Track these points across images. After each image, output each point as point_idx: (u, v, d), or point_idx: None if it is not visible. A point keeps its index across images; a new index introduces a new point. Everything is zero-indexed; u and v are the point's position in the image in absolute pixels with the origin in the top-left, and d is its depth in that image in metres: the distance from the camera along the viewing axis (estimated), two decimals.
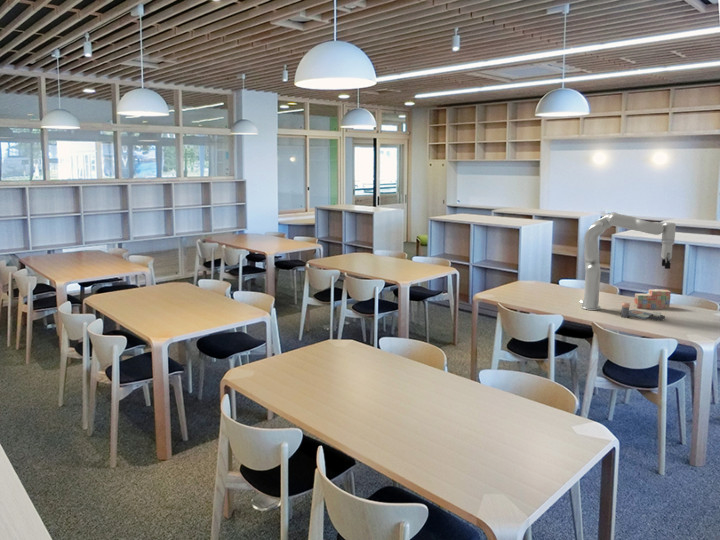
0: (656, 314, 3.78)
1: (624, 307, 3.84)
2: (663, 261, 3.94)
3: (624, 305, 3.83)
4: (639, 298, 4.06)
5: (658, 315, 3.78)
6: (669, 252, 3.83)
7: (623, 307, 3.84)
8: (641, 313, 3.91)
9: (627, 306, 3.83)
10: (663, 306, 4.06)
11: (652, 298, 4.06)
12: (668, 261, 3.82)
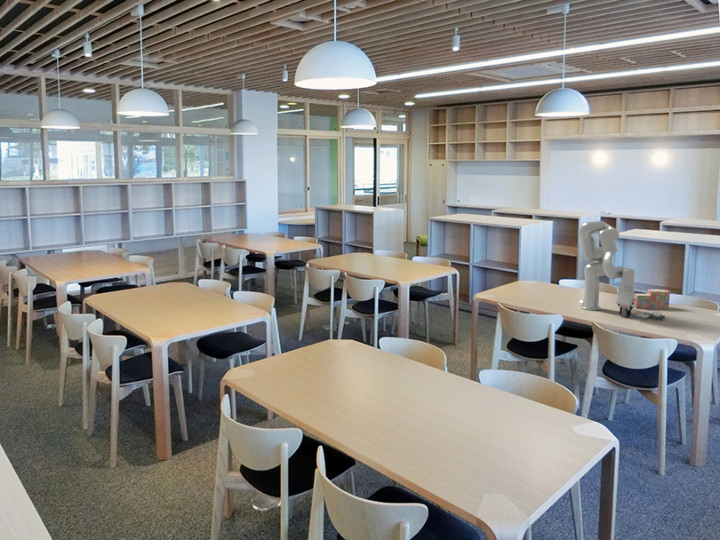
0: (656, 314, 3.78)
1: (624, 307, 3.84)
2: (621, 309, 3.87)
3: (624, 305, 3.83)
4: (638, 298, 4.06)
5: (658, 315, 3.78)
6: (633, 298, 3.80)
7: (623, 307, 3.84)
8: (641, 313, 3.91)
9: (627, 306, 3.83)
10: (662, 306, 4.06)
11: (651, 298, 4.05)
12: (631, 308, 3.81)
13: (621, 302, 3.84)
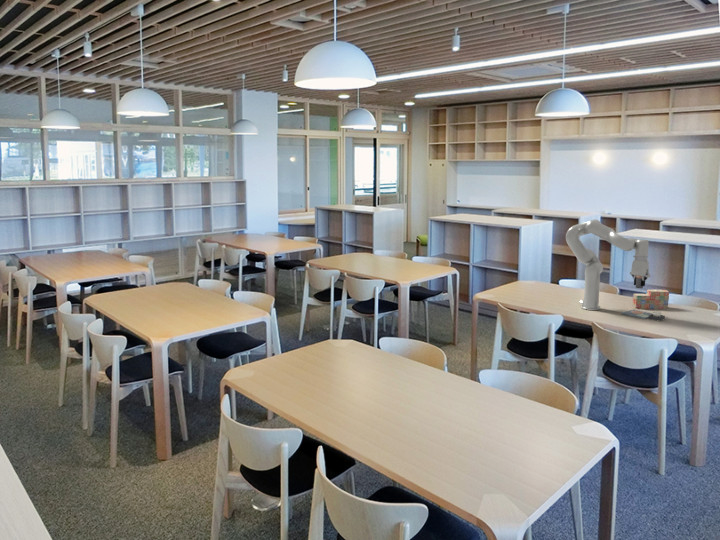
0: (656, 314, 3.78)
1: (638, 278, 3.88)
2: (635, 280, 3.91)
3: (638, 276, 3.87)
4: (637, 298, 4.06)
5: (658, 315, 3.78)
6: (648, 268, 3.84)
7: (637, 278, 3.88)
8: (641, 313, 3.91)
9: (641, 276, 3.87)
10: (661, 306, 4.05)
11: (650, 298, 4.05)
12: None
13: (635, 273, 3.88)
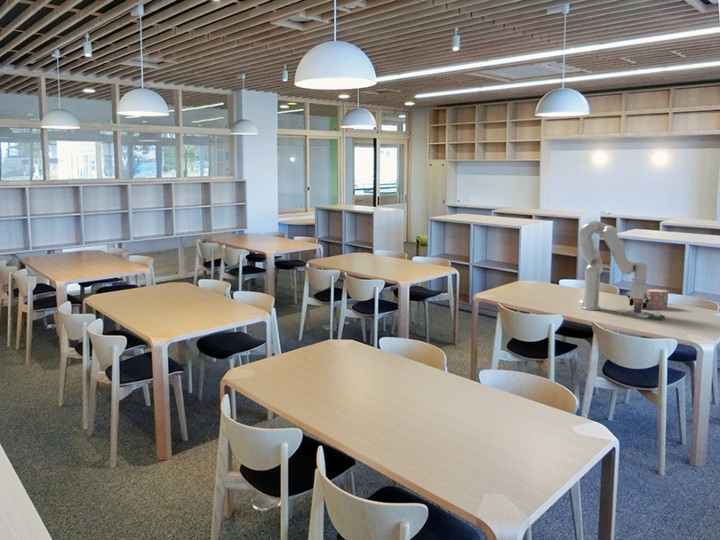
0: (656, 314, 3.78)
1: (636, 302, 3.91)
2: (631, 301, 3.96)
3: (637, 300, 3.91)
4: None
5: (658, 315, 3.78)
6: (646, 292, 3.87)
7: (635, 302, 3.92)
8: (641, 313, 3.91)
9: (639, 301, 3.90)
10: (661, 306, 4.05)
11: None
12: (647, 301, 3.87)
13: (634, 296, 3.92)
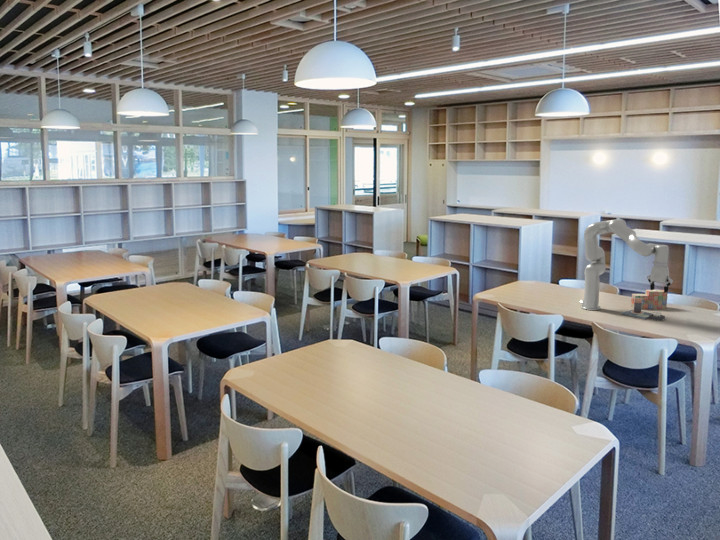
0: (656, 314, 3.78)
1: (636, 302, 3.91)
2: (652, 285, 3.80)
3: (637, 300, 3.91)
4: None
5: (658, 315, 3.78)
6: (668, 275, 3.71)
7: (635, 302, 3.92)
8: (641, 313, 3.91)
9: (639, 301, 3.90)
10: (660, 306, 4.05)
11: (649, 298, 4.05)
12: None
13: (655, 279, 3.75)
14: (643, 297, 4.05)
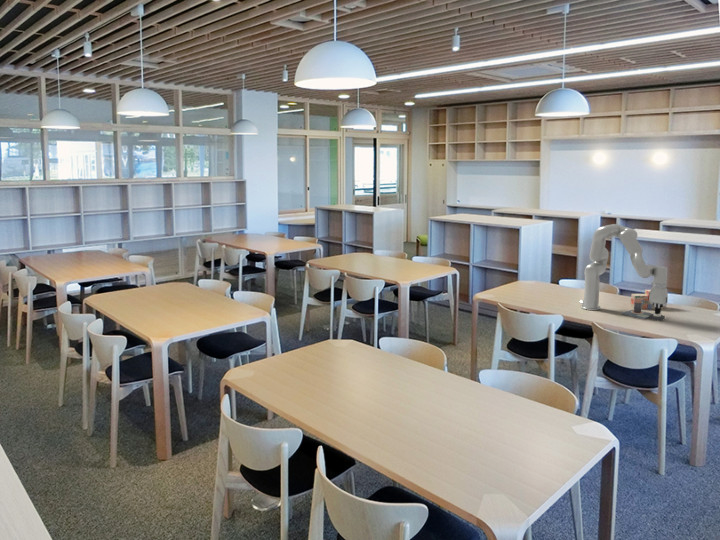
0: (656, 315, 3.78)
1: (636, 302, 3.91)
2: None
3: (636, 300, 3.91)
4: None
5: (658, 316, 3.78)
6: (666, 296, 3.73)
7: (635, 302, 3.92)
8: (641, 313, 3.91)
9: (639, 301, 3.90)
10: None
11: (648, 298, 4.05)
12: (661, 306, 3.77)
13: (654, 300, 3.78)
14: (642, 297, 4.05)
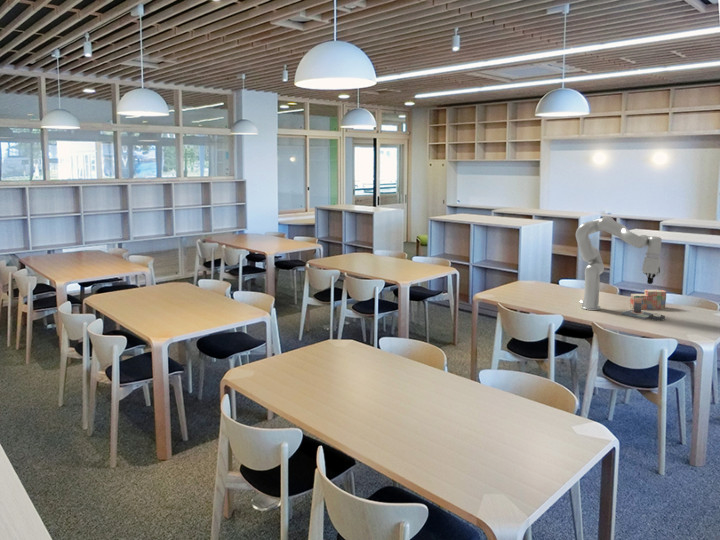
0: None
1: (636, 302, 3.91)
2: None
3: (637, 300, 3.91)
4: None
5: None
6: (659, 266, 3.78)
7: (635, 302, 3.92)
8: (641, 313, 3.91)
9: (639, 301, 3.90)
10: (659, 306, 4.06)
11: (648, 298, 4.05)
12: (654, 276, 3.81)
13: (646, 270, 3.82)
14: (642, 297, 4.05)
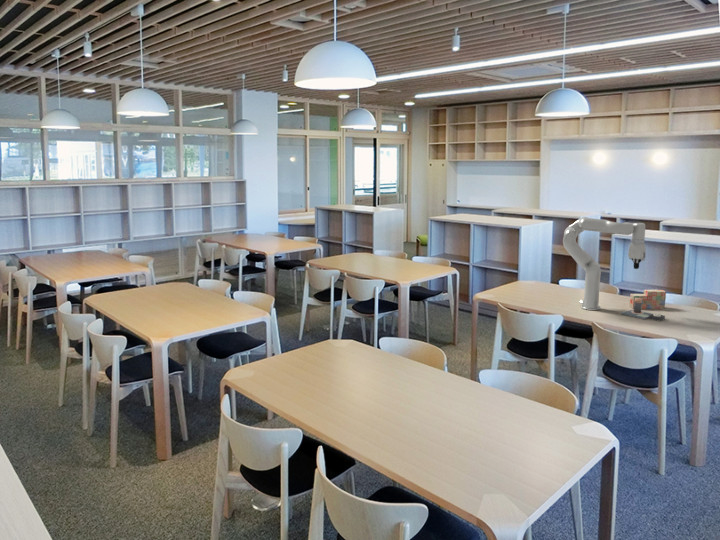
0: None
1: (636, 302, 3.91)
2: None
3: (637, 300, 3.91)
4: (634, 298, 4.06)
5: None
6: (644, 251, 3.90)
7: (635, 302, 3.92)
8: (641, 313, 3.91)
9: (639, 301, 3.90)
10: (658, 306, 4.06)
11: (647, 298, 4.05)
12: (640, 261, 3.94)
13: (632, 256, 3.95)
14: (642, 297, 4.05)
